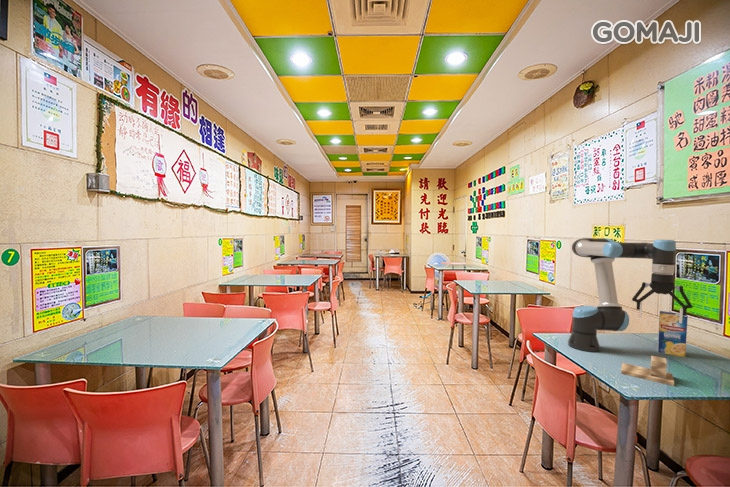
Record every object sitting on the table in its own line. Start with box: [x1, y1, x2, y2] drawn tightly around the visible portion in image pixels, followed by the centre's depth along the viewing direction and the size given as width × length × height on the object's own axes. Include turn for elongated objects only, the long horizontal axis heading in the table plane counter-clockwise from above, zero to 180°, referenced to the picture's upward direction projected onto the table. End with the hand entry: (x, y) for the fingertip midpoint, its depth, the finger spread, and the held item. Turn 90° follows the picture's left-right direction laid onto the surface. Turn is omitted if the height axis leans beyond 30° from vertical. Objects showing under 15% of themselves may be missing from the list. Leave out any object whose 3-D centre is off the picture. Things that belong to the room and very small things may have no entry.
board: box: [620, 362, 675, 387], centre depth 150 cm, size 18×12×2 cm, turn 50°
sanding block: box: [650, 355, 668, 379], centre depth 148 cm, size 5×8×7 cm, turn 139°
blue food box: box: [657, 310, 688, 358], centre depth 179 cm, size 7×11×22 cm, turn 49°
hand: (659, 319), depth 148 cm, fingers open, 13 cm apart
